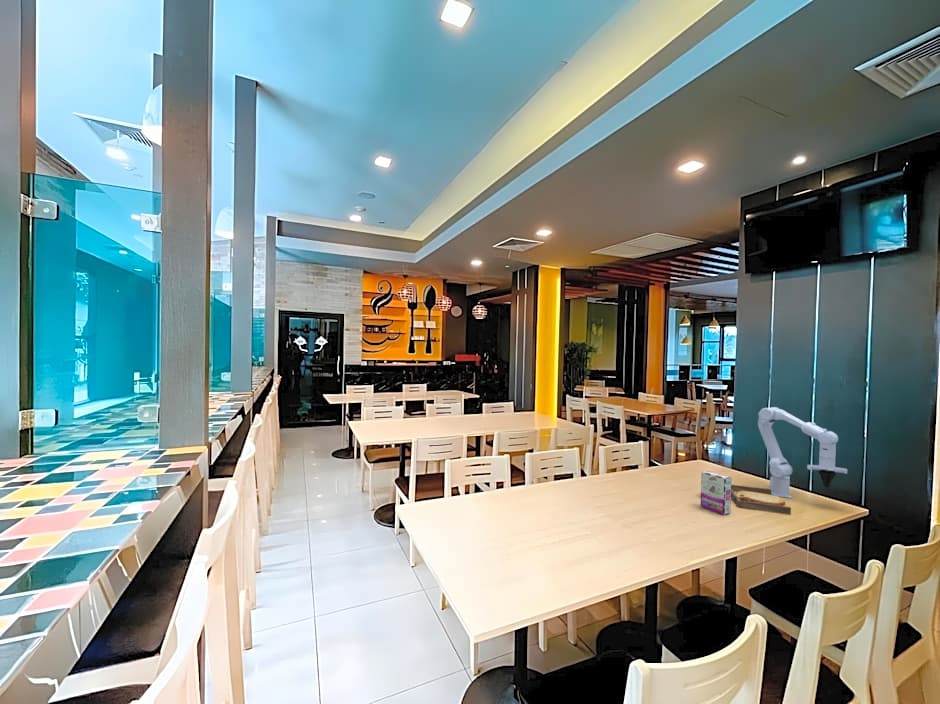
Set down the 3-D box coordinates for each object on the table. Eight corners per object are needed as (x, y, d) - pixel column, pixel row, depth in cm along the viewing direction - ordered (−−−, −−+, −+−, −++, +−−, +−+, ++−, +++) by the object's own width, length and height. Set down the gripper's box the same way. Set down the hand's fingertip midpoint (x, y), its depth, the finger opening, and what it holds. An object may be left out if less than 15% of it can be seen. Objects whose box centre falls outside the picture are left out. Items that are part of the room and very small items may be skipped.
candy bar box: (731, 513, 183) (732, 477, 183) (724, 515, 180) (725, 478, 180) (706, 504, 193) (707, 470, 192) (699, 506, 190) (701, 471, 190)
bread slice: (788, 504, 197) (788, 496, 197) (772, 511, 187) (772, 503, 187) (747, 492, 212) (747, 485, 212) (729, 498, 202) (730, 491, 202)
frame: (724, 489, 215) (725, 483, 215) (770, 495, 208) (770, 489, 208) (738, 507, 190) (738, 501, 190) (790, 514, 184) (790, 507, 184)
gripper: (812, 457, 191) (810, 487, 192) (851, 461, 186) (850, 491, 187) (805, 454, 198) (804, 482, 198) (843, 457, 193) (842, 486, 193)
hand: (826, 486), depth 193 cm, fingers closed
